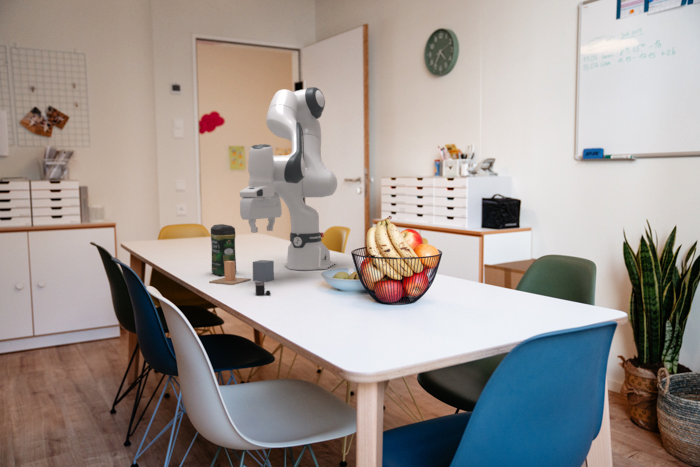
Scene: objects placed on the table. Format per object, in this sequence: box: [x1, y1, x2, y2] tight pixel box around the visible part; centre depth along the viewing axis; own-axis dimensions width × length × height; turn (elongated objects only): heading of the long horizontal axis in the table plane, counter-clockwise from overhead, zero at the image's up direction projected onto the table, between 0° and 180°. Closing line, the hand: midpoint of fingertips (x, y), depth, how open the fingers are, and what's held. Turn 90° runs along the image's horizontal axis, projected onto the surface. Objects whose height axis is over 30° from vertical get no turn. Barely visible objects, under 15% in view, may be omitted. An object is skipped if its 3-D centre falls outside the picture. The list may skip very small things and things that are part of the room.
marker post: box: [208, 261, 251, 286], centre depth 198 cm, size 10×10×7 cm
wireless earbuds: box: [254, 281, 272, 296], centre depth 177 cm, size 4×7×3 cm, turn 11°
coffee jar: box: [210, 223, 237, 276], centre depth 213 cm, size 10×8×19 cm
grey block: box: [252, 259, 275, 283], centre depth 200 cm, size 5×5×7 cm
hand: (262, 231), depth 198 cm, fingers open, 8 cm apart
